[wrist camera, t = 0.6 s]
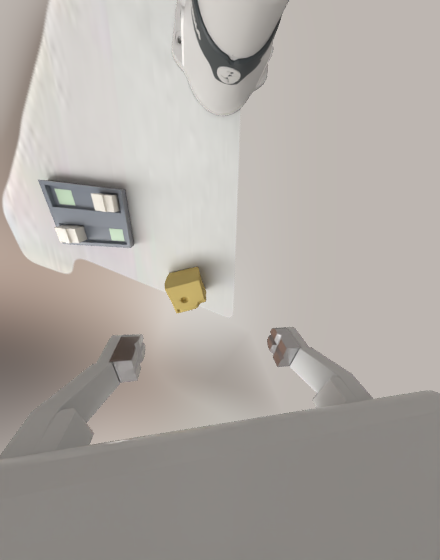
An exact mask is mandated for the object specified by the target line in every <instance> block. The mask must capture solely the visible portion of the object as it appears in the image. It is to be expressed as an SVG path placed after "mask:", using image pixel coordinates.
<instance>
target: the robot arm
mask: <svg viewBox="0 0 440 560" xmlns="http://www.w3.org/2000/svg"><path fill="white" fill-rule="evenodd" d="M288 1H289V0H177V4H176V13H175V22H174V31H173V41H172V54H173V57H174V59H175V61H176V63H177V64H178V65H179V67H180V68H181V69H182V70H183V72H184V73H185V75H186V77H187V79H188V82H189V84H190V87H191V89H192V91H193V93H194V95H195V97H196V98H197V100H198V101H199V102H200V104H201V105H202V106H203V107H204V108H205V109H207V110H208V111H209V112H211V113H213V114H216V115H220V116H226V115H230V114H233V113H235V112H236V111H238V110H239V109H240V108H241V107H242V106H243V105H244V104H245V103H246V101H247V100H248V98H249V96H250V95H251V94H252V92H253V91H255V90H257V89H258V88H260V87H261V86H262V85H263V84H264V82H265V80H266V78H267V71H268V62H269V60H270V58H271V56H272V52H273V46H272V43H273V39H274V36H275V33H276V31H277V29H278V25H279V23H280V20H281V16H282V13H283V11H284V9H285V7H286V4H287V3H288ZM179 39H180V40H181V41H182V43H181V44H179V43H178V40H179ZM270 333H271V335H270V336H269V337H268V339H267V344H268V348H269V350H270V351H271V352H272V353H273V358H274V360H275V363H276V365H277V367H282V366H290V368H292V370H294V372H296V373H297V374H298V375H299V376H300V377H301V378H302V379H303V380H304V381H305V382H306V383H307V384H308V385H309V386H310V387H311V388H312V389H313V390H315V392H316V393H317V394H316V395H315V397H314V398H313V402H314V404H315V406H316V408H315V409H309V410H302V411H296V412H290V413H284V414H278V415H272V416H266V417H259V418H253V419H247V420H241V421H234V422H228V423H222V424H216V425H209V426H203V427H197V428H191V429H185V430H179V431H172V432H166V433H160V434H154V435H148V436H142V437H135V438H129V439H123V440H117V441H110V442H104V443H98V444H92V445H90V442H91V439H92V437H93V434H94V433H93V431H92V430H91V429H90V427H89V426H88V425H87V422H88V421H89V419H90V418H91V417H92V416H93V415H94V414H95V412H96V411H97V410H98V409H99V408H100V407H101V405H102V404H103V403H104V402H105V401H106V400H107V398H108V397H109V396H110V395H111V394H112V393H113V391H114V390H115V389H116V388H117V387H118V386H119V384H120V383H121V382H130V381H137V380H138V377H139V373H140V370H141V367H140V363H141V362H142V361H143V359H144V355H145V344H144V343H143V339H144V338H143V335H142V334H140V335H113V336H112V337H111V338H110V339H109V341H108V343H107V345H106V346H105V348H104V350H103V352H102V354H101V356H100V357H99V359H98V361H97V363H95V364H92V365H91V366H89V367H88V368H87V369H85V370H84V371H83V372H82V373H80V374H79V375H78V376H77V377H75V378H74V379H73V380H71V381H70V382H69V383H68V384H66V385H65V386H64V387H63V388H61V389H60V390H59V391H57V392H56V393H55V394H54V395H52V396H51V397H50V398H49V399H47V400H46V401H45V402H44V403H42V404H41V405H40V406H38V407H37V408H36V409H34V410H33V411H32V412H31V413H30V415H29V416H28V417H27V419H26V420H25V422H24V423H23V424H22V426H21V427H20V428H19V430H18V431H17V433H16V434H15V435H14V437H13V438H12V440H11V441H10V442H9V444H8V445H7V446H6V448H5V449H4V451H3V452H2V453H1V455H0V560H440V394H439V393H437V392H434V391H420V392H414V393H408V394H402V395H396V396H389V397H383V398H377V399H373V398H372V397H371V395H370V394H369V393H368V392H367V391H366V390H365V388H364V387H363V386H362V385H361V384H360V383H359V381H358V380H357V379H356V378H355V377H354V376H353V374H351V373H350V372H348V371H346V370H345V369H344V368H342V367H341V366H339V365H338V364H336V363H335V362H333V361H331V360H330V359H328V358H327V357H325V356H324V355H322V354H321V353H319V352H317V351H316V350H314V349H313V348H312V347H309V346H308V345H307V344H306V342H305V341H304V340H303V338H302V337H301V335H300V334H299V333H298V331H297V330H296V329H295V328H294V327H287V328H286V327H284V328H272V329H271V331H270Z"/></svg>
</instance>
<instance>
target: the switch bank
mask: <svg viewBox="0 0 440 560" xmlns="http://www.w3.org/2000/svg"><path fill="white" fill-rule="evenodd" d="M38 181H39V184H40V186H41V189H42V191H43V194H44V196H45V199H46V202H47V204H48V207H49V209H50V212H51V214H52V217H53V220H54V222H55V225H56V227H58V226H62V225H77V226H84V230H85V233H86V236H87V240H85V241H83V242H81V243H66V242H62V243H63V244H73V245H90V246H107V247H125V248H131V247H132V246H133V245H134V243H133V236H132V230H131V224H130V218H129V211H128V205H127V199H126V193H125V190H122V189H114V188H106V187H98V186H90V185H82V184H74V183H66V182H58V181H49V180H38ZM91 193H102V194H111V195H118V200H119V205H120V211H117V212H102V211H96V210H95V208H94V204H93V200H92V197H91Z"/></svg>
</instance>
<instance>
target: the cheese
mask: <svg viewBox="0 0 440 560" xmlns="http://www.w3.org/2000/svg"><path fill="white" fill-rule="evenodd" d="M165 290H166V292H167V294H168V296H169V298H170V300H171V302H172V304H173V306H174V308H175V311H176V313H181V312H185V311H189V310H192V309H196V308H197V307H198V306H199V304H200V303H202V302H205V301H206V290H205V287H204V285H203V282H202V279H201V276H200V271H199V269H198V267H193V268H189V269H185V270H181V271H177V272H173V273H169V275H168V276H167V278H166V281H165Z"/></svg>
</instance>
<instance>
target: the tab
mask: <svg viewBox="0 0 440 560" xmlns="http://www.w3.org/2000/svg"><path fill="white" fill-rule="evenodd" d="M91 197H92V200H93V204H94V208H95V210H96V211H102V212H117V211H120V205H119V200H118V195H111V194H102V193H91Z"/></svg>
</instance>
